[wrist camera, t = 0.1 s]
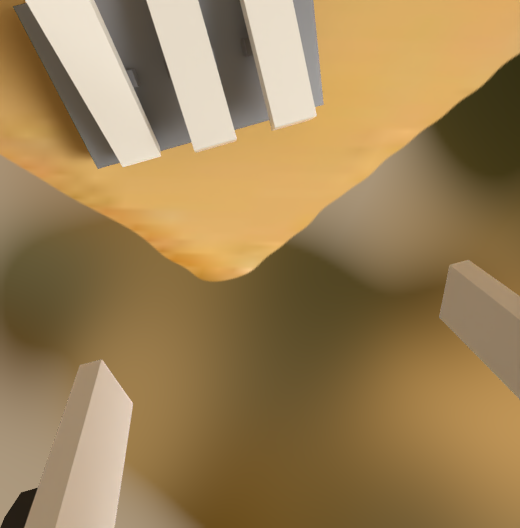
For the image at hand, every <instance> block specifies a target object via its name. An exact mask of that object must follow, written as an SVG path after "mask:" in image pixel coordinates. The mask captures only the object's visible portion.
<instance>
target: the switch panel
mask: <svg viewBox="0 0 520 528" xmlns="http://www.w3.org/2000/svg"><path fill="white" fill-rule="evenodd" d="M94 1H95V3H96V5H97V8H98V10H99V12H100V14H101V17H102V19H103V21H104V23H105V26H106V28H107V30H108V32H109V34H110V37H111V39H112V41H113V43H114V46H115V48H116V50H117V52H118V55H119V57H120V59H121V61H122V63H123V66H124V68H125V70H126V72H127V75H128V77H129V79H130V81H131V84H132V86H133V88H134V90H135V92H136V95H137V97H138V99H139V101H140V104H141V106H142V108H143V110H144V113H145V115H146V117H147V119H148V121H149V124H150V126H151V128H152V130H153V133H154V135H155V137H156V139H157V142H158V144H159V146H160V151H162V150H166V149H169V148H173V147H176V146H180V145H183V144H187V143H190V142H191V139H190V136H189V132H188V129H187V126H186V123H185V120H184V117H183V114H182V110H181V107H180V104H179V101H178V98H177V95H176V92H175V89H174V85H173V82H172V79H171V76H170V73H169V70H168V67H167V63H166V60H165V57H164V54H163V51H162V48H161V45H160V41H159V38H158V35H157V32H156V29H155V26H154V23H153V20H152V16H151V13H150V10H149V7H148V4H147V1H146V0H94ZM198 2H199V5H200V9H201V12H202V16H203V19H204V23H205V27H206V30H207V34H208V37H209V41H210V45H211V48H212V52H213V55H214V59H215V62H216V66H217V70H218V73H219V77H220V80H221V84H222V87H223V91H224V95H225V98H226V102H227V105H228V109H229V113H230V116H231V120H232V123H233V127H234V130H236V129H239V128H243V127H246V126H250V125H253V124H257V123H260V122H264V121H267V120H269V117H268V113H267V109H266V105H265V101H264V96H263V92H262V88H261V84H260V80H259V76H258V72H257V68H256V64H255V60H254V56H253V52H252V48H251V44H250V40H249V36H248V32H247V28H246V24H245V20H244V16H243V12H242V8H241V4H240V0H198ZM293 4H294V9H295V13H296V18H297V23H298V28H299V33H300V38H301V42H302V47H303V52H304V57H305V62H306V67H307V71H308V76H309V81H310V86H311V91H312V95H313V100H314V105H315V107H317V106H320V105H323V95H322V84H321V74H320V64H319V54H318V44H317V34H316V24H315V14H314V3H313V0H293ZM13 8H14V10H15V12H16V13H17V15H18V17H19V19H20V21H21V23H22V25H23V27H24V29H25V31H26V33H27V35H28V36H29V38H30V40H31V42H32V44H33V46H34V48H35V50H36V52H37V54H38V56H39V57H40V59H41V61H42V63H43V65H44V67H45V69H46V71H47V73H48V75H49V77H50V78H51V80H52V82H53V84H54V86H55V88H56V90H57V92H58V94H59V96H60V98H61V99H62V101H63V103H64V105H65V107H66V109H67V111H68V113H69V115H70V117H71V119H72V120H73V122H74V124H75V126H76V128H77V130H78V132H79V134H80V136H81V138H82V140H83V141H84V143H85V145H86V147H87V149H88V151H89V153H90V155H91V157H92V159H93V161H94V162H95V164H96V166H97V168H98V169H99V168H103V167H106V166H110V165H113V164H117V163H120V161H119V160H118V158H117V156H116V155H115V153H114V151H113V150H112V148H111V146H110V144H109V143H108V141H107V139H106V138H105V136H104V134H103V132H102V131H101V129H100V127H99V126H98V124H97V122H96V121H95V119H94V117H93V115H92V114H91V112H90V110H89V109H88V107H87V105H86V103H85V102H84V100H83V98H82V97H81V95H80V93H79V91H78V90H77V88H76V86H75V85H74V83H73V81H72V80H71V78H70V76H69V74H68V73H67V71H66V69H65V68H64V66H63V64H62V62H61V61H60V59H59V57H58V56H57V54H56V52H55V50H54V49H53V47H52V45H51V44H50V42H49V40H48V39H47V37H46V35H45V33H44V32H43V30H42V28H41V27H40V25H39V23H38V21H37V20H36V18H35V16H34V15H33V13H32V11H31V9H30V8H29V6H28V4H27V3H24V4H21V5H17V6H13Z"/></svg>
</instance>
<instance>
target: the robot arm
mask: <svg viewBox="0 0 520 528" xmlns="http://www.w3.org/2000/svg"><path fill="white" fill-rule="evenodd" d="M439 318H440V319H441V320H442V321H443V322H444V323H445V324H446V325H447V326H448V327H449V328H450V329H451V330H452V331H453V332H454V333H455V334H456V335H457V336H458V337H459V338H460V339H461V340H462V341H463V342H464V343H465V344H466V345H467V346H468V347H469V348H470V349H471V350H472V351H473V352H474V353H475V354H476V355H477V356H478V357H479V358H480V359H481V360H482V361H483V362H484V363H485V364H486V365H487V367H489V368H490V370H491V371H492V372H493V373H494V374H495V375H496V376H497V377H498V378H499V379H500V380H501V381H502V382H503V383H504V384H505V385H506V386H507V387H508V388H509V389H510V390H511V391H512V392H513V393H514V394H515V395H516V396H517V397H518V398H519V399H520V296H518V295H517V294H516V293H514V292H513V291H511V290H510V289H509V288H507V287H506V286H505V285H503V284H502V283H500V282H499V281H497V280H496V279H495V278H493V277H492V276H490V275H489V274H488V273H486V272H484V271H483V270H482V269H481V268H479V267H478V266H476V265H475V264H473V263H472V262H471V261H469V260H466V261H462V262H459V263H455V264H451V265H450V266H449V271H448V276H447V281H446V286H445V291H444V296H443V301H442V306H441V311H440V316H439ZM132 407H133V403H132V402H131V400H130V399H129V397H128V396H127V394H126V393H125V392H124V390H123V389H122V387H121V386H120V384H119V383H118V382H117V380H116V379H115V377H114V376H113V374H112V373H111V372H110V370H109V369H108V367H107V366H106V365H105V363H104V362H103V360H102V359H101V360H97V361H94V362H90V363H86V364H82V365H80V366H79V369H78V372H77V375H76V378H75V381H74V384H73V387H72V390H71V392H70V395H69V398H68V401H67V404H66V408H65V410H64V413H63V416H62V419H61V422H60V425H59V428H58V430H57V434H56V437H55V439H54V442H53V445H52V448H51V451H50V454H49V457H48V460H47V463H46V466H45V468H44V472H43V474H42V477H41V480H40V483H39V486H38V488H35V489H32V490H28V491H25V492H22V493H21V494H20V495H19V497H18V498H17V500H16V501H15V503H14V504H13V506H12V507H11V509H10V510H9V512H8V513H7V515H6V516H5V518H4V520H3V523H2V525H1V528H114V527H115V520H116V514H117V507H118V500H119V494H120V487H121V480H122V474H123V466H124V460H125V454H126V446H127V440H128V434H129V427H130V420H131V414H132Z"/></svg>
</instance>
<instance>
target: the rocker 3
mask: <svg viewBox="0 0 520 528" xmlns="http://www.w3.org/2000/svg"><path fill="white" fill-rule="evenodd" d="M240 4H241V8H242V12H243V16H244V20H245V24H246V28H247V32H248V36H249V40H250V44H251V48H252V52H253V56H254V60H255V64H256V68H257V72H258V76H259V80H260V84H261V88H262V92H263V96H264V101H265V105H266V109H267V113H268V117H269V121H270V125H271V129H272V131H273V130H277V129H280V128H284V127H287V126H291V125H294V124H298V123H301V122H305V121H308V120H311V119H313V118H314V117H316V116H317V115H316V110H315V105H314V100H313V95H312V91H311V86H310V81H309V76H308V71H307V67H306V62H305V57H304V52H303V47H302V42H301V38H300V33H299V28H298V23H297V18H296V13H295V9H294V4H293V0H240Z"/></svg>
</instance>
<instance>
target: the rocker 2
mask: <svg viewBox="0 0 520 528" xmlns="http://www.w3.org/2000/svg"><path fill="white" fill-rule="evenodd" d="M146 1H147V4H148V7H149V10H150V13H151V16H152V20H153V23H154V26H155V29H156V32H157V35H158V38H159V41H160V45H161V48H162V51H163V54H164V57H165V60H166V63H167V67H168V70H169V73H170V76H171V79H172V82H173V85H174V89H175V92H176V95H177V98H178V101H179V104H180V107H181V110H182V114H183V117H184V120H185V123H186V126H187V129H188V132H189V136H190V139H191V142H192V145H193V148H194V151H195V152H200V151H203V150H207V149H210V148H214V147H217V146H221V145H224V144H228V143H231V142H235V141H236V140H237V138H236V134H235V130H234V127H233V123H232V120H231V116H230V113H229V109H228V105H227V102H226V98H225V95H224V91H223V87H222V84H221V80H220V77H219V73H218V70H217V66H216V62H215V59H214V55H213V52H212V48H211V45H210V41H209V37H208V34H207V30H206V27H205V23H204V19H203V16H202V12H201V9H200V5H199V2H198V0H146Z"/></svg>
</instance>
